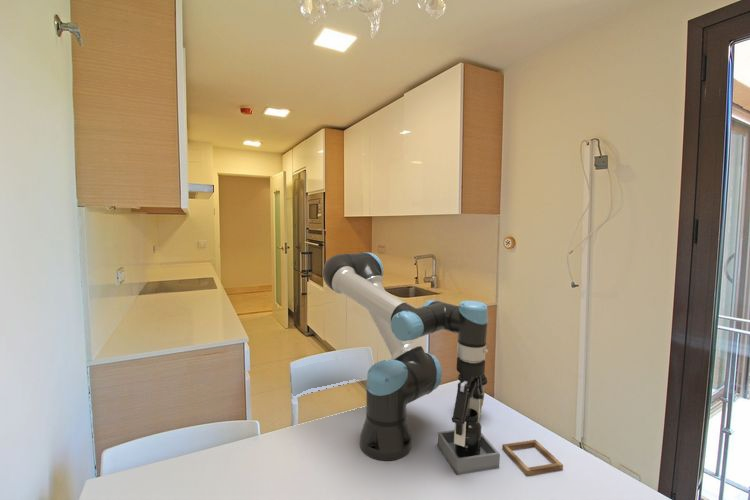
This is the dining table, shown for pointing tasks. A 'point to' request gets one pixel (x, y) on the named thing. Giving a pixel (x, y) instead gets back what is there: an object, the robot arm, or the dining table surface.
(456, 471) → the bin
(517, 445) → the wooden square frame
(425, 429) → the dining table surface
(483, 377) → the coffee cup
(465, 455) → the supplement bottle
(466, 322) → the robot arm
